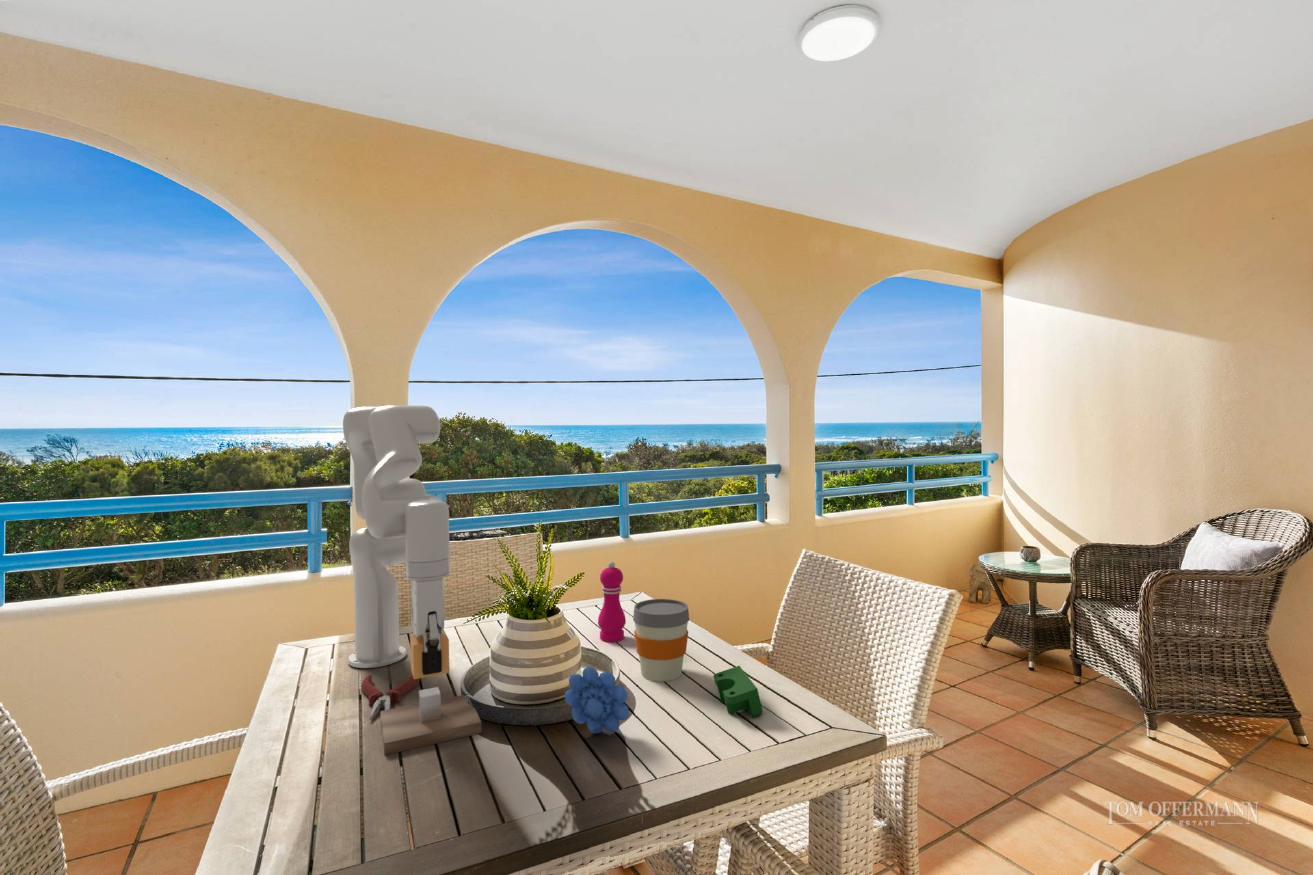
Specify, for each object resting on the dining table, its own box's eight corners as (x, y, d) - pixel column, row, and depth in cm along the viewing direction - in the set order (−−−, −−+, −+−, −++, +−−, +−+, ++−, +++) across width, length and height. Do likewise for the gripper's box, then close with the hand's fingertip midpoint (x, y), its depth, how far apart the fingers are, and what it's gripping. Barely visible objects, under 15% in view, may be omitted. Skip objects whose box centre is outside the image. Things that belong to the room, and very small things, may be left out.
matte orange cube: (410, 667, 113) (410, 635, 113) (444, 661, 116) (444, 630, 116) (413, 678, 108) (413, 645, 108) (449, 672, 111) (448, 639, 111)
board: (380, 721, 115) (380, 687, 114) (468, 703, 122) (468, 671, 122) (384, 754, 103) (383, 716, 103) (481, 732, 110) (481, 697, 110)
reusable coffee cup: (690, 663, 142) (690, 599, 142) (688, 686, 130) (688, 615, 129) (637, 661, 143) (636, 597, 143) (629, 683, 131) (629, 614, 131)
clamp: (725, 720, 124) (710, 674, 127) (752, 711, 125) (737, 665, 128) (735, 725, 112) (719, 674, 115) (766, 714, 113) (749, 664, 116)
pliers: (344, 728, 113) (344, 714, 113) (364, 684, 132) (364, 672, 132) (410, 720, 116) (410, 706, 116) (421, 678, 136) (421, 666, 136)
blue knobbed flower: (559, 744, 106) (559, 676, 106) (567, 725, 113) (566, 661, 113) (626, 746, 105) (626, 677, 105) (630, 727, 112) (630, 662, 112)
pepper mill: (601, 632, 163) (601, 558, 163) (628, 633, 162) (627, 558, 162) (595, 642, 156) (594, 564, 156) (622, 643, 155) (622, 565, 155)
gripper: (402, 562, 118) (403, 655, 118) (410, 580, 102) (412, 688, 103) (442, 557, 121) (444, 648, 121) (457, 575, 106) (458, 679, 106)
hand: (429, 665), depth 112 cm, fingers closed on matte orange cube, 6 cm apart
